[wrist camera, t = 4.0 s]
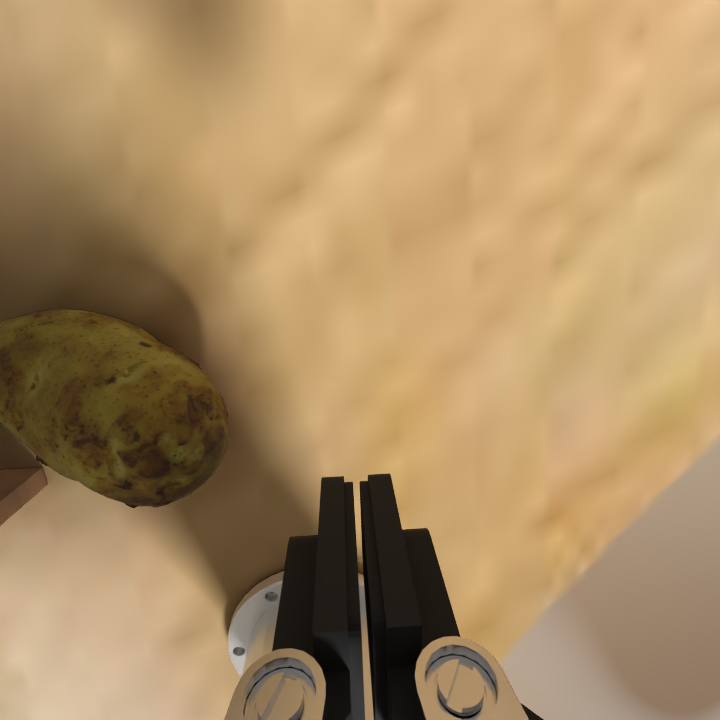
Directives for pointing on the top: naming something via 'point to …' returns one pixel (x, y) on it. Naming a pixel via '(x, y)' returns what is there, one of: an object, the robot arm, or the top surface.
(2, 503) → the cubby
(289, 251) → the top surface
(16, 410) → the potato
